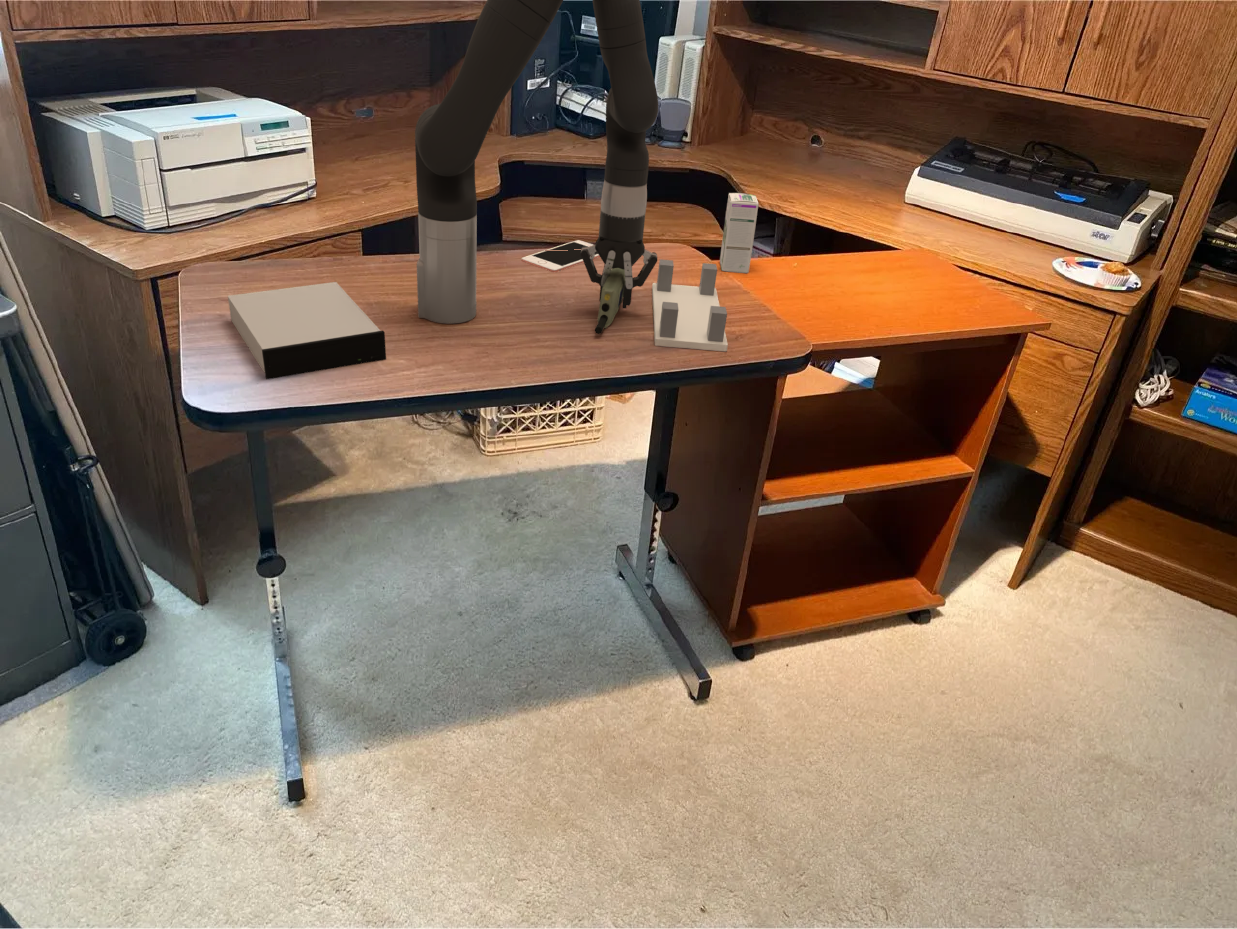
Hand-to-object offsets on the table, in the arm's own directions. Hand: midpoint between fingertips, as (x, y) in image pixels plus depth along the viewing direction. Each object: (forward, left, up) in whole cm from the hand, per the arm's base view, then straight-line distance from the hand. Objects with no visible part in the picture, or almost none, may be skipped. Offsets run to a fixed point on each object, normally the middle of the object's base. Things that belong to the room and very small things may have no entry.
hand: (614, 305), depth 163 cm
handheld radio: (-1, 0, -1) cm, 2 cm away
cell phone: (-10, +27, -2) cm, 29 cm away
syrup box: (+24, +29, -1) cm, 38 cm away
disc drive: (-48, -22, -2) cm, 52 cm away
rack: (+13, 0, -1) cm, 13 cm away
